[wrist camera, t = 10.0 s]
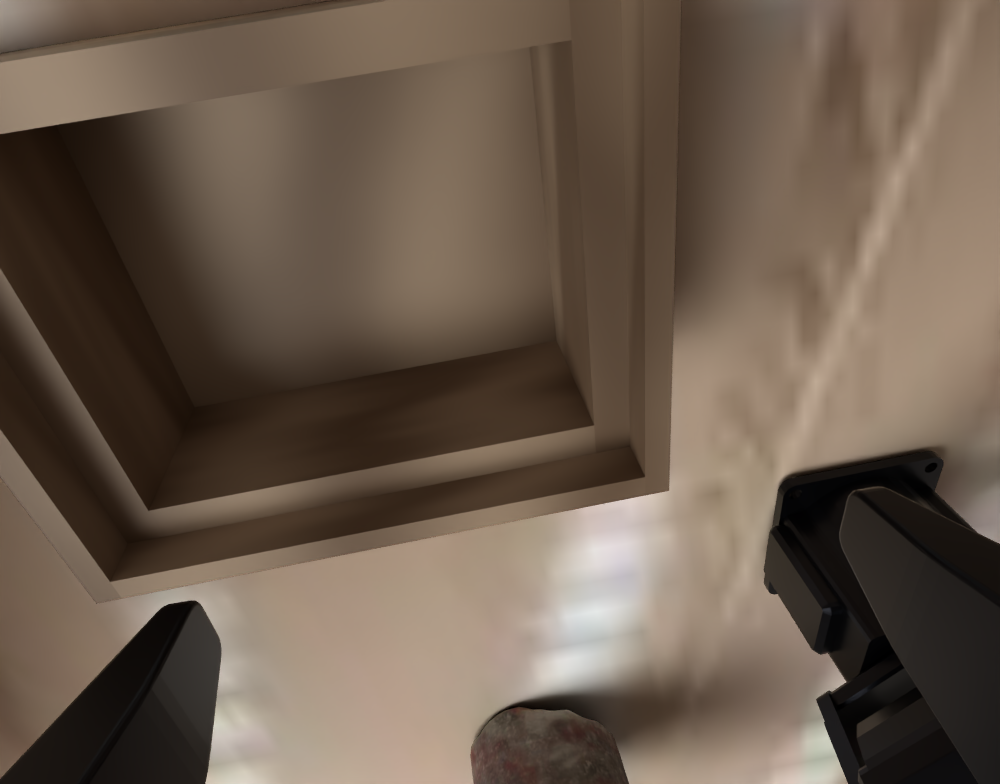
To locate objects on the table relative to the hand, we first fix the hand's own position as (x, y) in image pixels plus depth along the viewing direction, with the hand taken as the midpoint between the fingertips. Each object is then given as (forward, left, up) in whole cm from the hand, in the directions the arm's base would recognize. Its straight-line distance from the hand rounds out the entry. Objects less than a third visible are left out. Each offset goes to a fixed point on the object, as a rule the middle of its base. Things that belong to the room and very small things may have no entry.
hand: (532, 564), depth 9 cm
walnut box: (+3, -1, -12) cm, 12 cm away
